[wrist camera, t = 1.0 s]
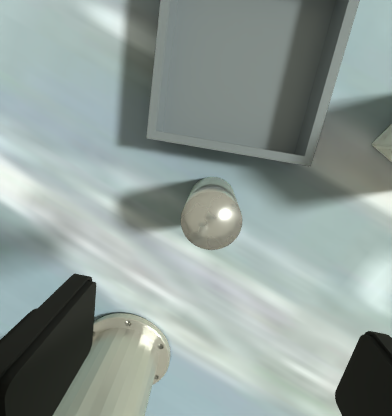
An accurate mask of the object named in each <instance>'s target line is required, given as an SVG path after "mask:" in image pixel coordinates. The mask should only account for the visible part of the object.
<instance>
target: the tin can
mask: <svg viewBox="0 0 392 416" xmlns="http://www.w3.org/2000/svg"><path fill="white" fill-rule="evenodd" d="M181 226H182V230H183V232H184V234H185V236H186V237H187V239H188V240H189V241H190V242H191V243H193V244H194V245H196V246H198V247H200V248H203V249H208V250H215V249H220V248H223V247H226V246H228V245H229V244H231V243H232V242H233V241H234V240H235V239H236V238H237V236H238V235H239V233H240V230H241V227H242V215H241V211H240V208H239V206H238V203H237V200H236V197H235V194H234V192H233V189H232V187H231V186H230V185H229V184H228V183H227V182H226V181H225V180H223V179H221V178H218V177H207V178H204V179H202V180H200V181H198V182H197V183H196V184H195V185H194V187H193V188H192V190H191V193H190V195H189V197H188V199H187V202H186V204H185V206H184V208H183V211H182V214H181Z"/></svg>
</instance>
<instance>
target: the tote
mask: <svg viewBox="0 0 392 416" xmlns="http://www.w3.org/2000/svg"><path fill="white" fill-rule="evenodd" d="M359 1H360V0H160V9H159V19H158V29H157V39H156V48H155V58H154V68H153V78H152V88H151V98H150V108H149V117H148V127H147V137H146V138H148V139H154V140H159V141H165V142H171V143H177V144H183V145H189V146H194V147H200V148H206V149H212V150H218V151H224V152H229V153H235V154H241V155H247V156H253V157H259V158H264V159H270V160H276V161H282V162H288V163H294V164H300V165H305V166H311V164H312V161H313V157H314V154H315V150H316V147H317V144H318V140H319V137H320V133H321V130H322V127H323V123H324V120H325V116H326V113H327V110H328V106H329V103H330V99H331V96H332V93H333V89H334V86H335V82H336V79H337V76H338V72H339V69H340V65H341V62H342V59H343V55H344V52H345V48H346V45H347V42H348V38H349V35H350V32H351V28H352V25H353V21H354V18H355V15H356V11H357V8H358V4H359Z"/></svg>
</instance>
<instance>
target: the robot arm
mask: <svg viewBox="0 0 392 416" xmlns="http://www.w3.org/2000/svg"><path fill="white" fill-rule="evenodd" d="M95 296H96V283H95V282H92V278H91V277H89V276H84V275H79V274H73V275H72V276H71V277H70V278H69V279H68V280H67V281H66V282H65V283H64V284H63V285H62V286H61V287H59V288H58V289H57V290H56V291H55V292H54V293H53V294H52V295H51V296H50V297H49V298H48V299H47V300H46V301H45V302H44V303H43V304H42V305H41V306H40V307H39V308H38V309H34V310H32V311H31V312H30V313H28V314H27V315H26V316H25V317H24V318H23V319H22V320H21V321H20V322H19V323H18V324H17V325H16V326H15V327H14V328H12V329H11V330H10V331H9V332H8V333H7V334H6V335H5V336H4V337H3V338H2V339H1V340H0V416H145V412H146V408H147V404H148V400H149V396H150V392H151V388H152V385H153V384H155V383H156V382H158V381H159V380H160V379H161V378H162V377H163V376H164V375H165V373H166V371H167V369H168V366H169V361H170V347H169V344H168V341H167V339H166V337H165V336H164V334H163V333H162V332H161V331H160V329H159V328H157V327H156V326H155V325H154V324H153V323H151V322H149V321H148V320H146V319H144V318H142V317H139V316H136V315H132V314H125V313H116V314H110V315H106V316H103V317H101V318H99V319H98V320H96V321H95V322H94V312H95ZM335 399H336V403H337V406H338V408H339V410H340V412H341V414H342V416H392V338H391V337H390V336H389V335H386V334H382V333H377V332H371V331H368V332H366V333H365V334H364V335H362V336H361V337H360V338H359V340H358V343H357V345H356V347H355V349H354V352H353V354H352V356H351V358H350V361H349V363H348V365H347V367H346V369H345V372H344V374H343V376H342V378H341V381H340V383H339V385H338V387H337V389H336V392H335Z"/></svg>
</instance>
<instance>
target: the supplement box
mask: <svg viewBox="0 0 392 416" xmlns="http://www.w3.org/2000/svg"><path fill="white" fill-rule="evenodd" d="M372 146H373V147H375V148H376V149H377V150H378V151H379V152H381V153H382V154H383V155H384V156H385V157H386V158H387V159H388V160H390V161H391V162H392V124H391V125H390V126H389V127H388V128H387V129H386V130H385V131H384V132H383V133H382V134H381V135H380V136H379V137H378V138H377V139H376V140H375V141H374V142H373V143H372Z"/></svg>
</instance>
